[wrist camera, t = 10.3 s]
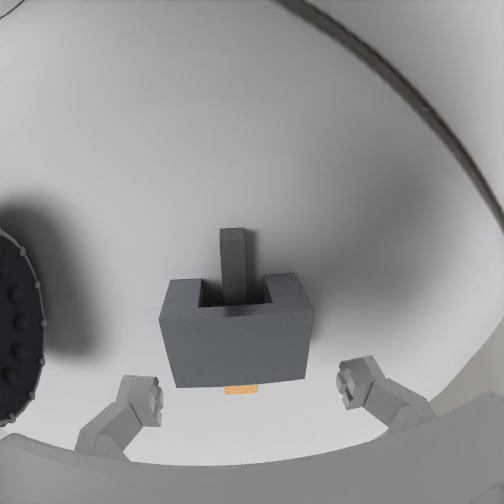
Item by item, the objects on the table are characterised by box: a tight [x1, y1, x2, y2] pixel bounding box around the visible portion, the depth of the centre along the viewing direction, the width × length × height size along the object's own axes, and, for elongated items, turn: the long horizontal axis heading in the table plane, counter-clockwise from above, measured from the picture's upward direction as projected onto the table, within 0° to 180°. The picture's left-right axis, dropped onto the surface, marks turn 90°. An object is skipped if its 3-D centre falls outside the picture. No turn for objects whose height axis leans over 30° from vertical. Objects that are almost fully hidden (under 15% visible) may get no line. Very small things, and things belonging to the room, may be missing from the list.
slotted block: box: [159, 273, 314, 388], centre depth 26 cm, size 8×12×6 cm, turn 91°
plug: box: [220, 228, 257, 394], centre depth 27 cm, size 18×4×3 cm, turn 1°
